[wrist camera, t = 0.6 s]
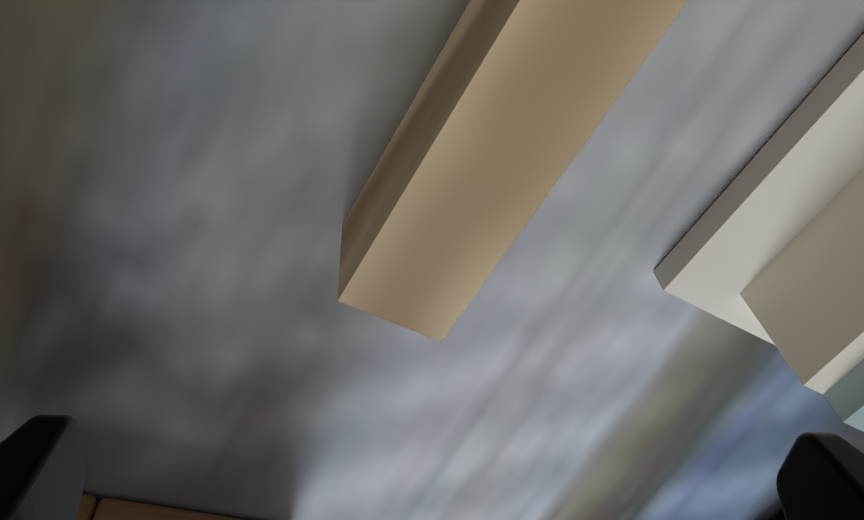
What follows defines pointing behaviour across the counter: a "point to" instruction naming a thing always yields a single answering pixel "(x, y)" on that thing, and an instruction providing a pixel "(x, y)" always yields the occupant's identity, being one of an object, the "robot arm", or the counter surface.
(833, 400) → the ridge stand
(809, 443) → the robot arm
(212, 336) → the counter surface
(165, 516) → the wooden block
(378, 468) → the counter surface
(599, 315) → the counter surface
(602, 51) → the birch bar
